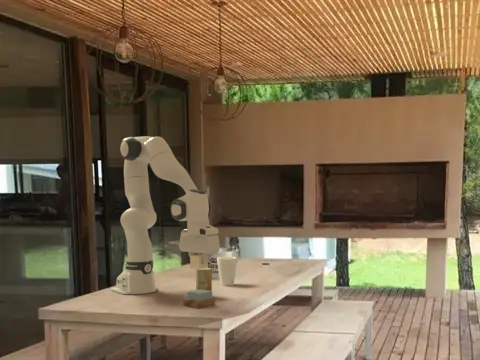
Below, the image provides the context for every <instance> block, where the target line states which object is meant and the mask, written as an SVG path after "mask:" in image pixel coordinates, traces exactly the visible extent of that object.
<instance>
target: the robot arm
mask: <svg viewBox="0 0 480 360" xmlns="http://www.w3.org/2000/svg"><path fill="white" fill-rule="evenodd" d="M119 151H120V156H121V157H122V158H123V159H124V162H123V163H124V165H123V179H124V180H123V182H124V193H125V197H126V198H127V201H128V203H129V206H130V208H129V207H128V209H126V210H125V211H123V213H122V214H121V216H120V225H121V227H122V228H123V231H124V234H125V240H126V244H127V245H126V247H127V261H126V262H125V261H124V266H125V269H124V270H123V271H122V272H121V273H120V274H119V275H118V276H117V277H116V283H115V285H116V286H114V287H111V289H110V291H112V292H115V293H118V294H122V295H141V294H142V295H143V294H149V293H154V292H156V291H157V289H158V286H157V285H156V277H155V272H154V270H153V268H154V260H153V249H152V248H153V243H152V241H151V238H150V236H149V231H148V230H149V229H151V228H152V227H153V226H155V224H156V222H157V218H158V217H157V212H155V209H154V207H153V206H154V205H153V201H152V199H151V194H150V181H149V171H148V165H150V168H151V170H152V172H153V173H154V175H155V176H156V177H157V178H159V179H161V180H163V181H164V180H165V181H168V182H171V183H173V184H176V185H178V186H180V187H181V188H182V189H183V190H184V192H185V194H184V195H183V196H180V197H179V198H175V199H173V201H172V202H171V205H170V215H171V217H172V218H173V219H174V220H175V221H178V222H186V221H187V222H186V224H187V225H186V226H187V227H186V228H184V229H182V230H181V232H180V236H179V251H180V252H183V253H184V252H186V253H188V257H189V258H190V256H192V255H196V254H195V253H197V254H202V255H203V256H204V259H203V260H202V264H203V265H207V260H208V261H209V258H210V255H216V254H219V252H220V238H219V237H220V236H219V233H220V232H219V231H220V230H219V229H218V228H217V227H215V226H213V225H211V224H210V219H209V217H210V215H211V214H212V204H211V202H210V200H209V197H208V193H207V192H206V191H205V190H203V189H200V187H199V186H198V185H197V183H196V181H195V179H193V177H192V175H191V174H190V172H189V171H188V169H186V168H185V167H184V166H183V165H182V164H181V163H180V162H179V160H177V158H176V157H175V155H174V153H173V151H172V149H171V147H170V146H169V144H168V143H167V142H166V140H165V139H164V138H163V137H162V136H149V135H148V136H147V135H146V136H145V135H142V136H134V137H133V136H129V137H125V138H123V139H122V141H121V143H120V145H119Z"/></svg>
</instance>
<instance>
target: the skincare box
mask: <svg viewBox="0 0 480 360" xmlns="http://www.w3.org/2000/svg"><path fill="white" fill-rule="evenodd" d="M212 270H213V269H212V268H211V267H208V268H203V269H195V271H196V272H195V273H196V275H195V277H196V279H195V283H196V284H195V287H196V288H195V290H199V289H202V290H209V291H212V292H213V289H212V288H213V287H212V286H213V285H212V284H213V283H212V282H213V281H212V280H213V278H212V275H213V274H212V273H213V272H212Z"/></svg>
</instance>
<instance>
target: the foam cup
mask: <svg viewBox="0 0 480 360" xmlns="http://www.w3.org/2000/svg"><path fill="white" fill-rule="evenodd" d="M237 262H238V261H237V257H236V256H218V257H217V259H216V263H217V268H218V275H219V281H220V286H222V287H230V286H234V285H235V276H236V269H237V268H236V267H237Z"/></svg>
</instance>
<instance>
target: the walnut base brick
mask: <svg viewBox="0 0 480 360" xmlns="http://www.w3.org/2000/svg"><path fill="white" fill-rule="evenodd" d="M215 300H216V298H215V297H214V298H213V297H212V299H208V300H203V301H195V300H190V299H188V297H187V298H184V299H182V306H183V307H186V308H187V307H189V308H194V309H203V308H207V307H211V306H215V305H216V304H215V303H216V301H215Z"/></svg>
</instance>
